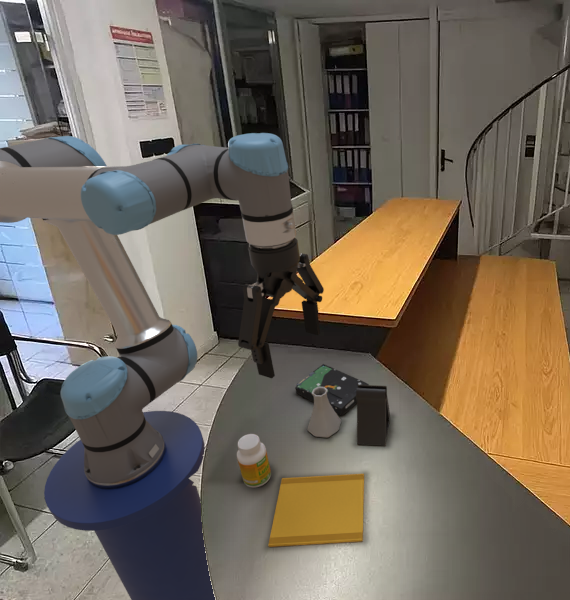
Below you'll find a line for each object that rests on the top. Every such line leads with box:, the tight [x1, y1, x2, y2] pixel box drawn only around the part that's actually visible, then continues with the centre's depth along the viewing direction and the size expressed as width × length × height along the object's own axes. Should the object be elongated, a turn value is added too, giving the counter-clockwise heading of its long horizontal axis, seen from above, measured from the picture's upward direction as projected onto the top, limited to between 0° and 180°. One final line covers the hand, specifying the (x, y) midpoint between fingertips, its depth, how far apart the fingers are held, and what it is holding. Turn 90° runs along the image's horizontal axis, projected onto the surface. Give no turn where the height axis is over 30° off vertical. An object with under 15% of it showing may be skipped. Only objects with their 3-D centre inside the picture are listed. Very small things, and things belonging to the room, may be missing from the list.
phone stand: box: [356, 384, 391, 447], centre depth 102 cm, size 9×6×12 cm, turn 174°
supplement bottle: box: [236, 433, 272, 488], centre depth 93 cm, size 5×5×10 cm
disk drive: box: [295, 363, 370, 416], centre depth 116 cm, size 10×3×15 cm
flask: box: [306, 387, 342, 438], centre depth 104 cm, size 7×7×10 cm
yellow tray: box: [268, 473, 365, 548], centre depth 88 cm, size 16×14×1 cm
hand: (291, 352), depth 85 cm, fingers open, 13 cm apart
